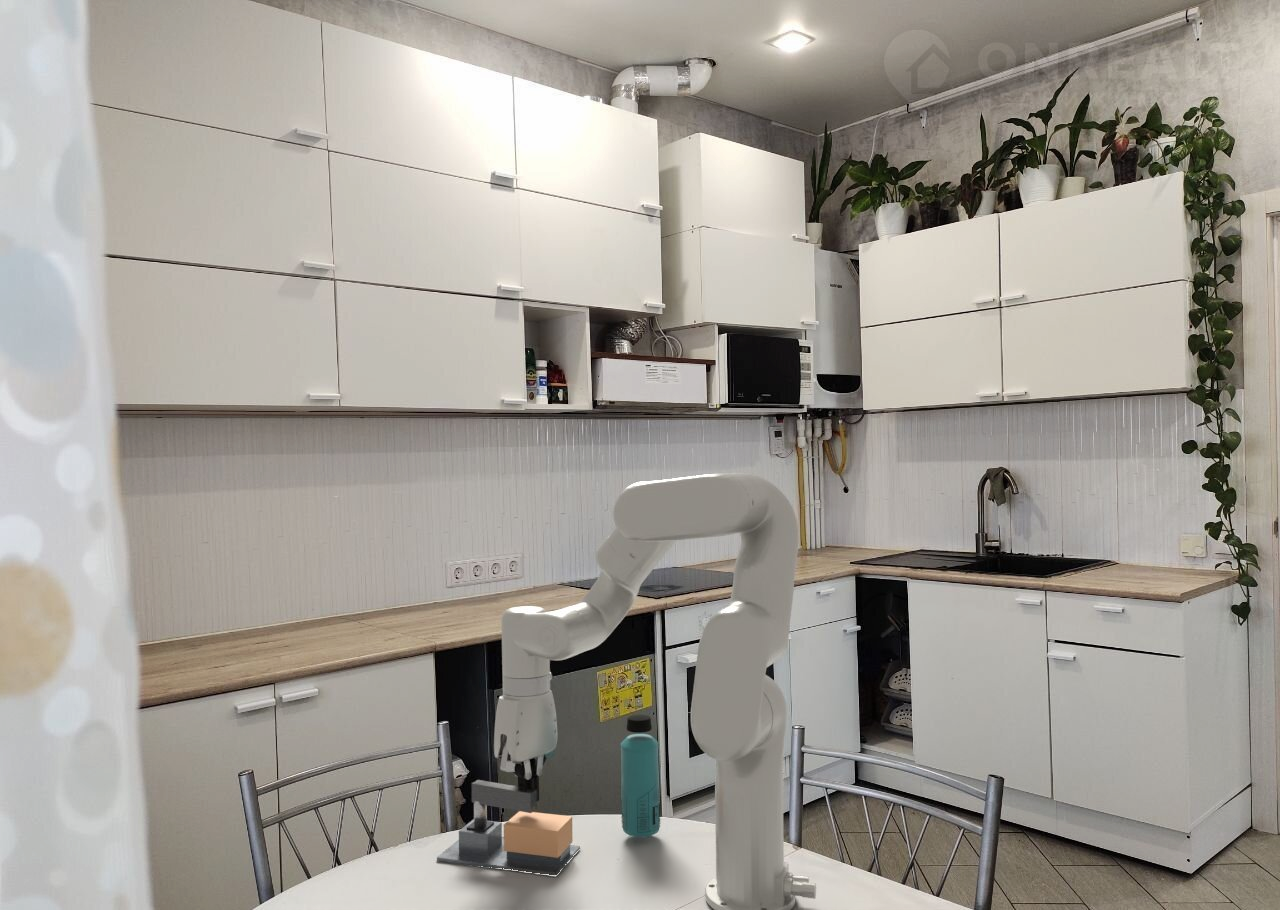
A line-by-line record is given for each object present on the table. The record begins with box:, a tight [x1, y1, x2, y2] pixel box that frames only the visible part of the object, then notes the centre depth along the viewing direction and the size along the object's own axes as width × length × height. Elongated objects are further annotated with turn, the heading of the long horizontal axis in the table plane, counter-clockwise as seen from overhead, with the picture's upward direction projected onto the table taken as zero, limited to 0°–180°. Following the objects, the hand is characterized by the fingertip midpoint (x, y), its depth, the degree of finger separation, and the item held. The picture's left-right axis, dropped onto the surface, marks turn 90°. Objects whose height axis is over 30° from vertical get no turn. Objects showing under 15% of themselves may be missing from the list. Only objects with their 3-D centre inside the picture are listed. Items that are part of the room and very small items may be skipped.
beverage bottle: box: [620, 714, 662, 838], centre depth 149 cm, size 6×7×20 cm
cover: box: [503, 811, 573, 858], centre depth 142 cm, size 9×6×4 cm, turn 73°
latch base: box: [436, 818, 581, 875], centre depth 143 cm, size 20×10×4 cm, turn 73°
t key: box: [471, 779, 538, 826], centre depth 143 cm, size 11×2×6 cm, turn 65°
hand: (528, 800), depth 144 cm, fingers closed
